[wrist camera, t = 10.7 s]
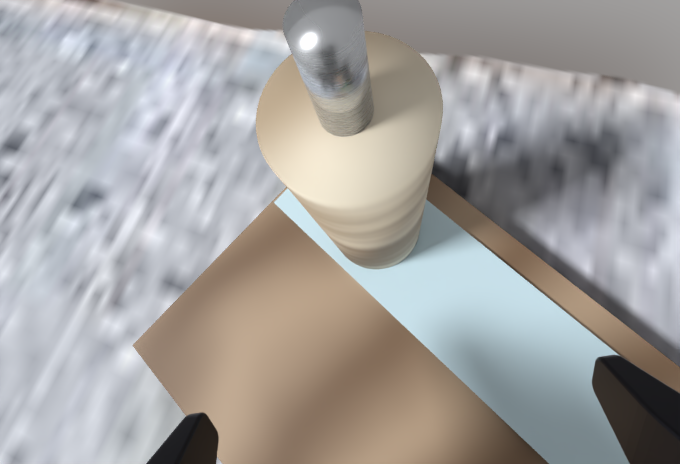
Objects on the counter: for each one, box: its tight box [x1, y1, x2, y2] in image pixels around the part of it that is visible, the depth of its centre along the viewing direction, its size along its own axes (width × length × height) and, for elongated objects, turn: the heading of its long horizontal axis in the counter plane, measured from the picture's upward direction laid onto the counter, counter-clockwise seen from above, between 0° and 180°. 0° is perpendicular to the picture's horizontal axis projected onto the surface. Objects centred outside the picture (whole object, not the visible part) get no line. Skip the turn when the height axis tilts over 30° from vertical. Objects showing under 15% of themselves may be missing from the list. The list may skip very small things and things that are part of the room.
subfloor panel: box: [133, 174, 680, 464], centre depth 17 cm, size 19×16×2 cm
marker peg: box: [256, 0, 443, 269], centre depth 12 cm, size 4×4×12 cm
